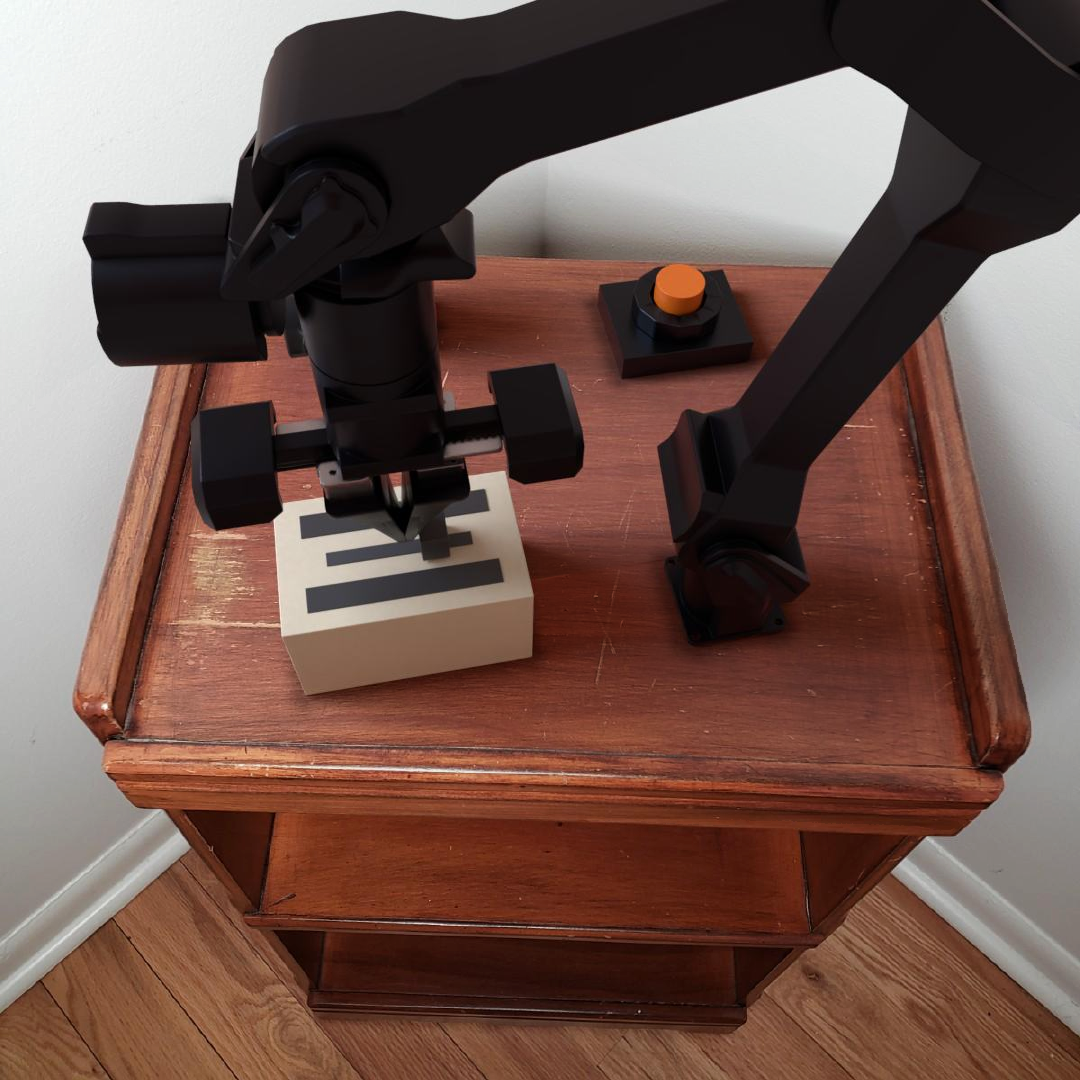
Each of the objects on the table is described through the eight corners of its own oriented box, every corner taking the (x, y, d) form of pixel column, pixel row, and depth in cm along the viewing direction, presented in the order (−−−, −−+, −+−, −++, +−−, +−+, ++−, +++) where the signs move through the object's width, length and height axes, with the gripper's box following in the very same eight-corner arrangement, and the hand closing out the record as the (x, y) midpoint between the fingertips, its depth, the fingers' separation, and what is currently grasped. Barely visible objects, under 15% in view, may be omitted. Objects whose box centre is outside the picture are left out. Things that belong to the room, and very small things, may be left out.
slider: (450, 557, 58) (448, 538, 56) (422, 561, 58) (420, 542, 56) (444, 523, 59) (442, 503, 58) (417, 527, 59) (414, 507, 57)
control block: (748, 362, 77) (759, 324, 74) (621, 379, 76) (626, 341, 73) (718, 290, 82) (726, 250, 78) (597, 305, 80) (600, 266, 77)
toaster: (532, 657, 63) (534, 595, 57) (305, 695, 61) (281, 636, 55) (506, 538, 68) (505, 469, 62) (295, 571, 66) (272, 503, 60)
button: (707, 312, 75) (711, 294, 74) (660, 318, 75) (663, 300, 73) (694, 279, 77) (697, 261, 76) (648, 285, 77) (650, 267, 75)
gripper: (544, 195, 50) (539, 405, 63) (154, 240, 47) (232, 448, 61) (596, 360, 44) (578, 554, 57) (152, 420, 41) (239, 608, 55)
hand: (405, 535), depth 57 cm, fingers closed
